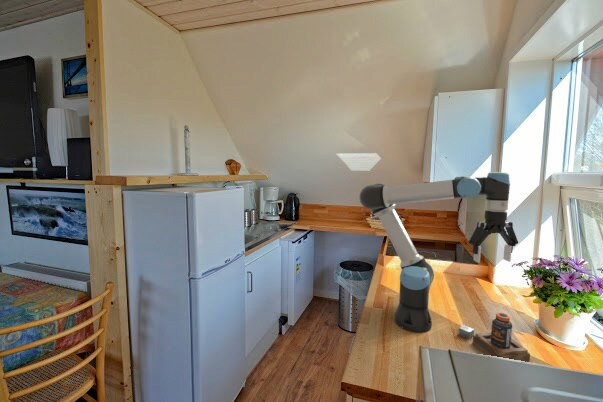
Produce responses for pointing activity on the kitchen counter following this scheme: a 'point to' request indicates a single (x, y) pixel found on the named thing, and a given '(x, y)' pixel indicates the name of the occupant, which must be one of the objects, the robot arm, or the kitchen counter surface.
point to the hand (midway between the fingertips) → (491, 261)
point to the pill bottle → (501, 331)
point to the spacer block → (466, 331)
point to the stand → (489, 349)
